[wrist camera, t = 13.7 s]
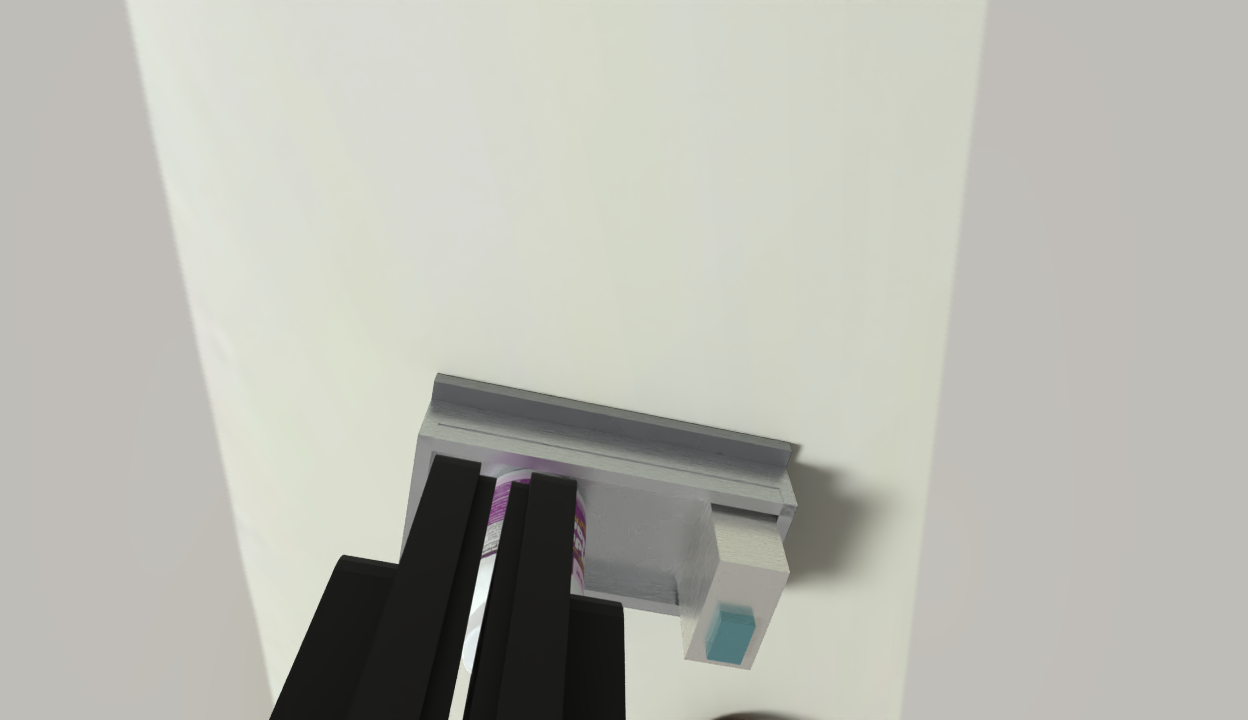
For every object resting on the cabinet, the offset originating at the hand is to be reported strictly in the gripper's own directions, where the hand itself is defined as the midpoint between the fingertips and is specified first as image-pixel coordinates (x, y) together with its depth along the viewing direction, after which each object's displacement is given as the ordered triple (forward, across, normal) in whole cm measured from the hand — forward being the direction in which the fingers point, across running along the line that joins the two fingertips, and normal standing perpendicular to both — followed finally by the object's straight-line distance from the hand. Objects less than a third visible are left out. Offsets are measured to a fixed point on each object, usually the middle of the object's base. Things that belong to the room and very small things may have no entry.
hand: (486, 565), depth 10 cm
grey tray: (+29, -5, +19) cm, 35 cm away
